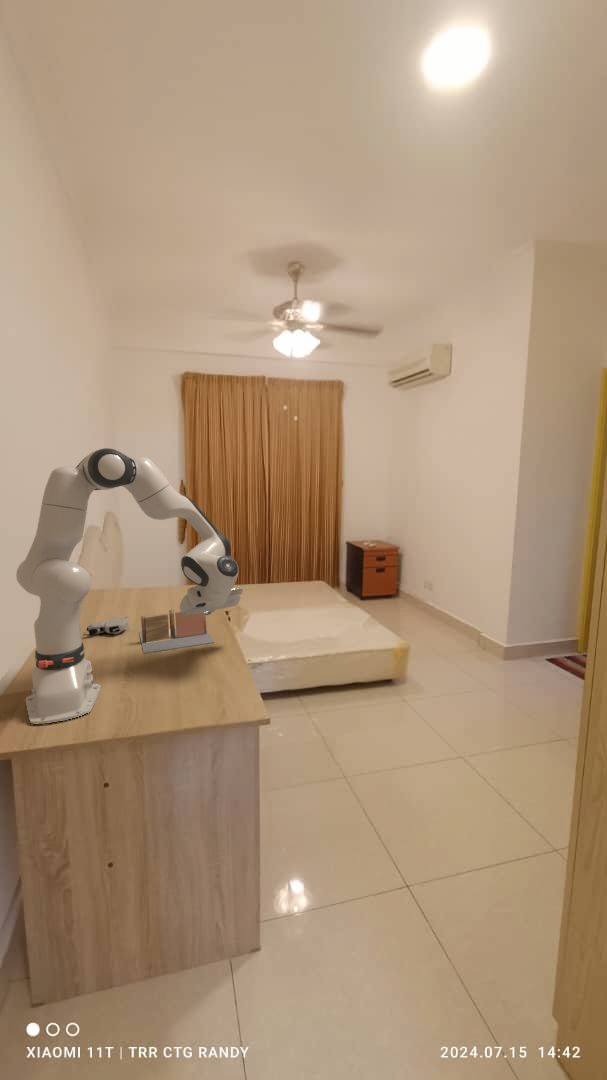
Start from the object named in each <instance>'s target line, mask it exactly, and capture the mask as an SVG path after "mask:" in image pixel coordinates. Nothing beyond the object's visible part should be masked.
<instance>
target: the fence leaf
mask: <svg viewBox="0 0 607 1080" xmlns="http://www.w3.org/2000/svg"><path fill="white" fill-rule="evenodd" d="M174 617H175V627H176V634H177V638H178V637H185V636H192V635H199V634H207V632H208V630H207V615H206V616H202V613H197V614H192V615H187V616H183V615H182V613H181V611H175V612H174Z"/></svg>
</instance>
